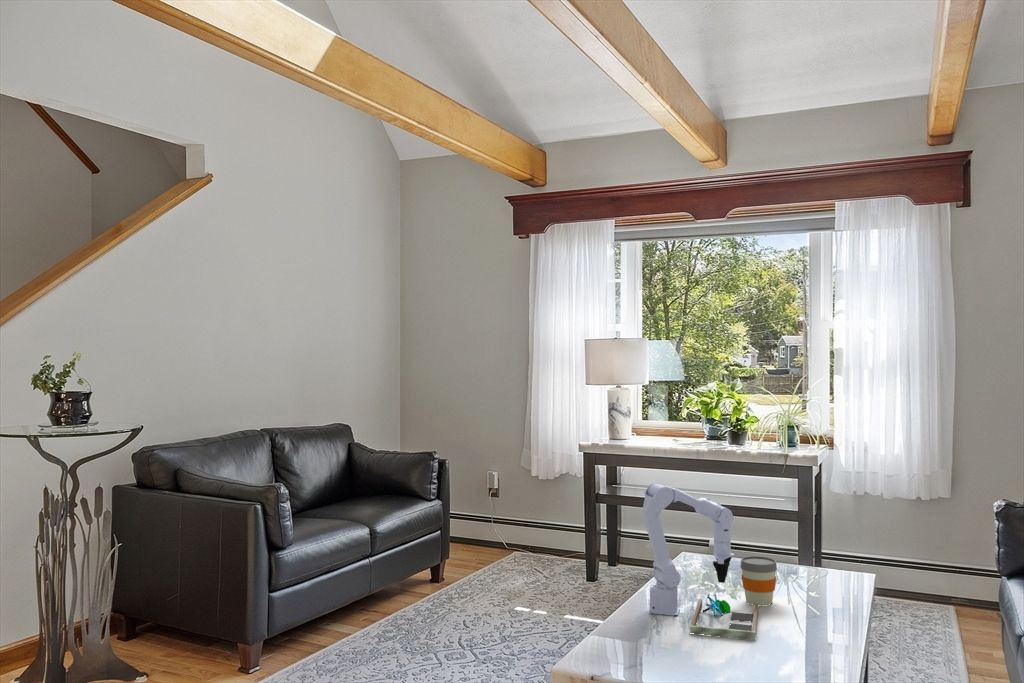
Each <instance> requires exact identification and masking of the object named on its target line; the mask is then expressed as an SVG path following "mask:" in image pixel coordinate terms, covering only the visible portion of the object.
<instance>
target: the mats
mask: <svg viewBox="0 0 1024 683" xmlns="http://www.w3.org/2000/svg"><path fill="white" fill-rule="evenodd" d="M753 618H754V613H747V612H731V616H730V621H733V620H739V621H738V622H744V621H751V622H750V623H753V621H752V620H753ZM730 624H731V625H730ZM752 627H753V624H752V625H751V624H741V623H732V622H731V623H730V622H729V627H728V629H735V630H745V631H752V630H751V629H752Z"/></svg>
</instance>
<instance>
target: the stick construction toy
mask: <svg viewBox="0 0 1024 683" xmlns="http://www.w3.org/2000/svg"><path fill="white" fill-rule="evenodd" d="M713 596H714V599H712V598H711V597H710V593H709V594H707V595H706V599H708V600H709V603H710V604H708V603H706V604H705V606H706V607H707V608H705V609H703V610H702V613H706V612H708V611H710V612H712V613H713V617H714V616H715V617H714V618H716V617H717V615H716V611H717V612H718V613H719V614H720V617H721V616H722V617H723V616H724V615H723V614H725V612H729V613H731V605H730V604H729V603H728V602H727V601H726V600H725V599H722V600H720V599H718V598H717V594H716V593H715V594H713ZM722 613H723V614H722Z"/></svg>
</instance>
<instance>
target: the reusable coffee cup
mask: <svg viewBox="0 0 1024 683" xmlns="http://www.w3.org/2000/svg"><path fill="white" fill-rule="evenodd" d="M740 568H741V582H742V588H743V589H744V590H743V591H744V596H745V603H747V604H748V603H749V605H750V604H753V605H752V606H755V604H758V605H761V606H760V607H763V606H762V605H769V604H771V603H772V604H773V601H774V600H773V599H774V598H773V597H774V592H775V591H776V583H777V576H776V575H777V570H778V568H777V561H776V559H774V558H772V557H768V556H767V557H766V556H760V555H759V556H758V555H756V556H755V555H751V556H744V557H742V558H741V560H740ZM772 604H771V605H772ZM769 606H770V605H769Z"/></svg>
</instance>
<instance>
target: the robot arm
mask: <svg viewBox="0 0 1024 683" xmlns="http://www.w3.org/2000/svg"><path fill="white" fill-rule="evenodd" d="M678 501H679V502H680V503H683V504H686V505H688V506H690V507H693V508H694V511H695V512H696V514H699V515H701V516H704V517H706V518H708V519H710V520H712V521H713V557H715V560H716V561H712V566H714V569H715V573H716V575H717V576H716V577H717V582H718V583H723V584H724V583H725V582H726V579H727V577H728V571H729V566H730V565H731V564H730V562H731V560H732V558H733V557H735V553H732V551H731V550H732V549H731V548H732V547H731V546H732V545H731V537H732V536H731V535H732V534H731V529H732V528H731V526H732V525H731V524H732V523H733V521H734V518H735V517H734V515H733V512H732V510H731V509H730V508H728V507H725V506H722V504H721V503H718V502H717V503H716V502H713V501H711V498H709V497H706V496H705V497H700V498H696V497H694V496H692V495H690V494H688V493H686V492H684V491H682V490H680V489H678V488H676V487H675V488H674V487H672V486H668V485H663V484H660V483H657V482H652V483H650V484H649V485H648V486H647V488H646V489H645V491H644V500H643V506H642V510H641V511H642V517H643V519H644V520H643V521H644V524H645V528H646V531H647V535H648V539H649V543H650V547H651V550H652V553H653V554H652V555H653V557H654V561H653V562H652V566H653V571H652V572H653V573H652V574H653V578H654V580H656V584H651V585H650V587H649V588H650V589H649V614H651V613H653V614H654V615H662V614H666V615H665V616H674V615H677V616H678V615H679V612H680V610H681V608H680V607H679V605H678V604H679V602H678V599H679V598H678V596H679V595H678V586H679V585H680V583H681V578H682V577H681V574H680V573H679V571H678V570H677V568H676V565H675V563H674V562H673V560H672V559H671V555H670V552H669V549H668V544H667V540H666V537H665V533H664V529H663V525H662V521H661V517H660V514H661V513H662V511H663V510H665V509H666V508H667V507H668V506H669V505H671V504H672V503H676V502H678Z"/></svg>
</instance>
